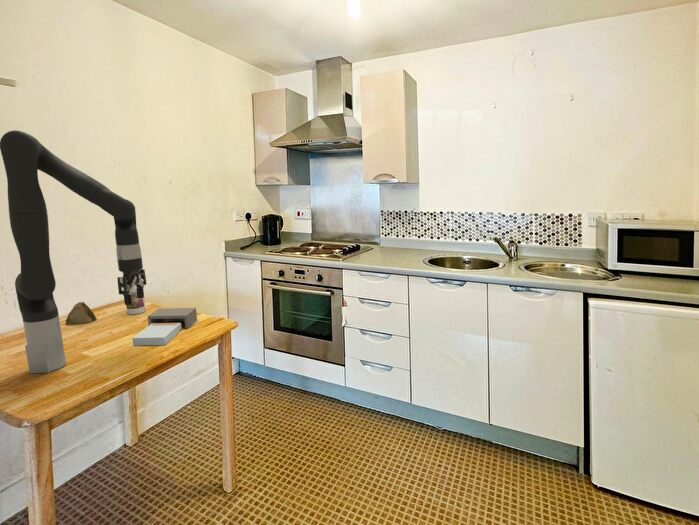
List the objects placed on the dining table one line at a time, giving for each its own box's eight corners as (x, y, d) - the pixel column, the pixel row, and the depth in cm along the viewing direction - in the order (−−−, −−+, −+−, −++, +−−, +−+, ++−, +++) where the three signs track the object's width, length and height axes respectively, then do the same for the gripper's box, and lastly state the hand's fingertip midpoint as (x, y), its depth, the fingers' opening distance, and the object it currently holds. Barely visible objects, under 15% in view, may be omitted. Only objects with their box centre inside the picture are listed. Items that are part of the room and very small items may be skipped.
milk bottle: (128, 311, 190) (123, 270, 186) (145, 308, 193) (141, 269, 189) (126, 315, 183) (121, 273, 179) (145, 313, 186) (140, 272, 182)
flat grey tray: (165, 344, 149) (164, 336, 148) (133, 345, 148) (132, 337, 148) (181, 329, 164) (180, 322, 164) (152, 330, 164) (151, 323, 163)
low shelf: (188, 328, 166) (187, 315, 165) (148, 329, 165) (147, 316, 164) (197, 319, 176) (196, 307, 175) (160, 320, 176) (158, 308, 175)
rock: (56, 321, 168) (76, 319, 167) (62, 303, 172) (82, 301, 171) (77, 329, 178) (96, 327, 176) (82, 311, 182) (101, 309, 180)
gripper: (129, 260, 130) (135, 307, 133) (150, 253, 144) (154, 295, 147) (106, 260, 130) (113, 307, 133) (129, 253, 144) (134, 296, 147)
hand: (135, 301), depth 140 cm, fingers open, 8 cm apart
